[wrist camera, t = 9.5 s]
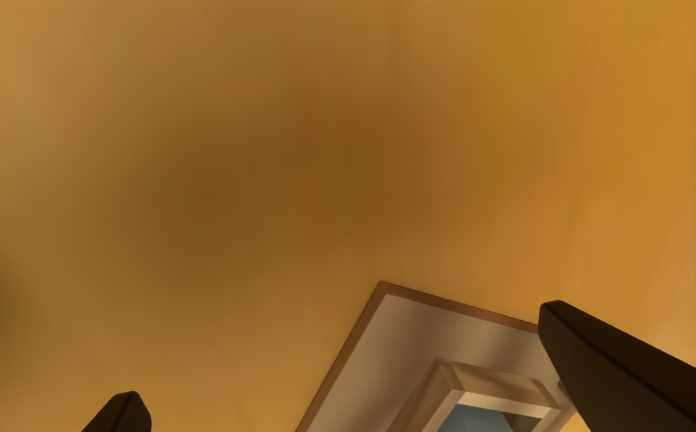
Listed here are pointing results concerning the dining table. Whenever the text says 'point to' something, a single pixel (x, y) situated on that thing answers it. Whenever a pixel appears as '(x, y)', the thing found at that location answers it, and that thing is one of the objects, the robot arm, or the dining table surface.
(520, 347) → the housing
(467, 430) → the pale gray block
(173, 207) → the dining table surface
